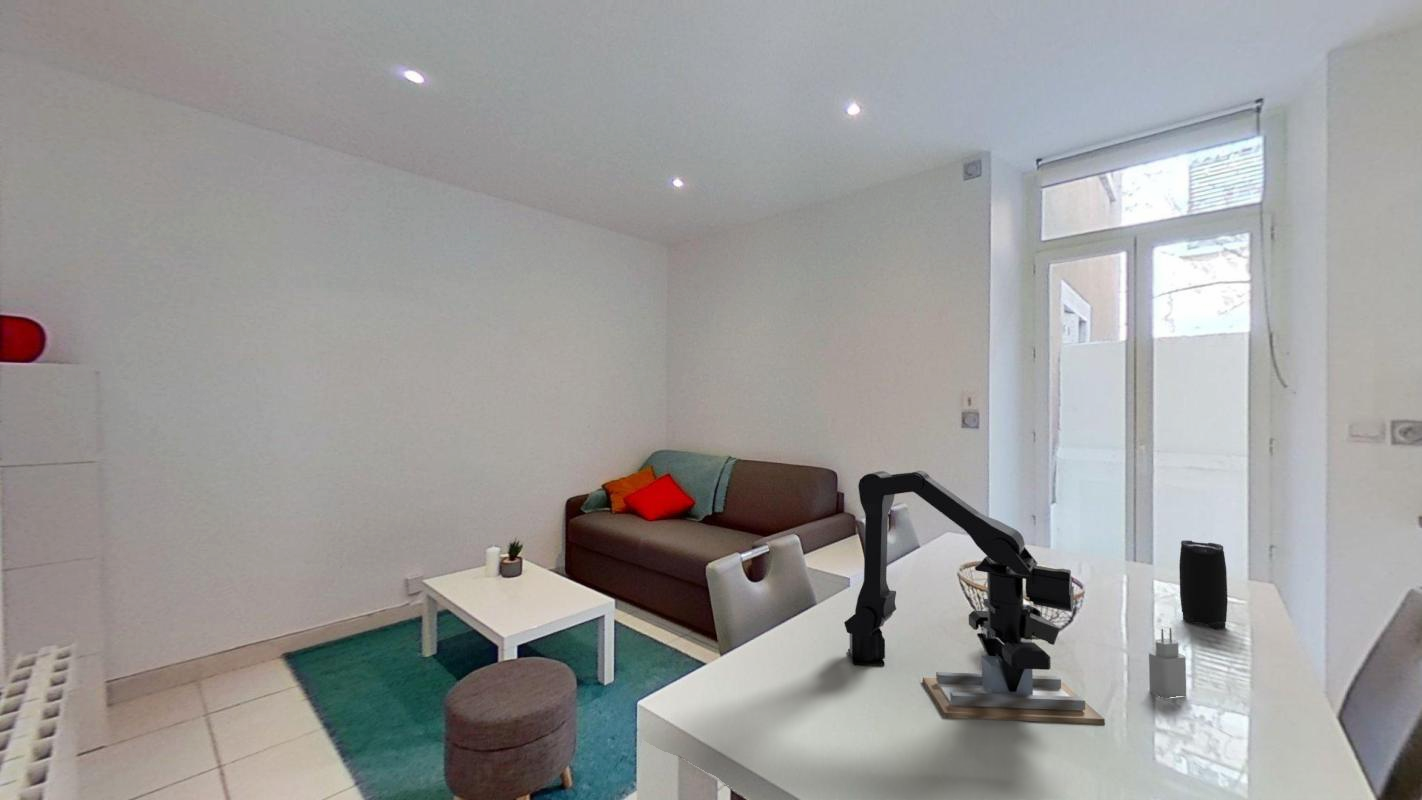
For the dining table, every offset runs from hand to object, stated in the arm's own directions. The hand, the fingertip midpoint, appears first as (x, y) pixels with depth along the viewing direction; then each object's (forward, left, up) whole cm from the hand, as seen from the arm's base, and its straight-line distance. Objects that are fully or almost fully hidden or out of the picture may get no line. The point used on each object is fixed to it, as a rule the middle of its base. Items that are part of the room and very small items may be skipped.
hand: (1006, 685), depth 96 cm
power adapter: (+31, +5, -3) cm, 32 cm away
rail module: (0, 0, -1) cm, 1 cm away
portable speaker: (+65, +40, -3) cm, 76 cm away
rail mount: (0, 0, -3) cm, 3 cm away
